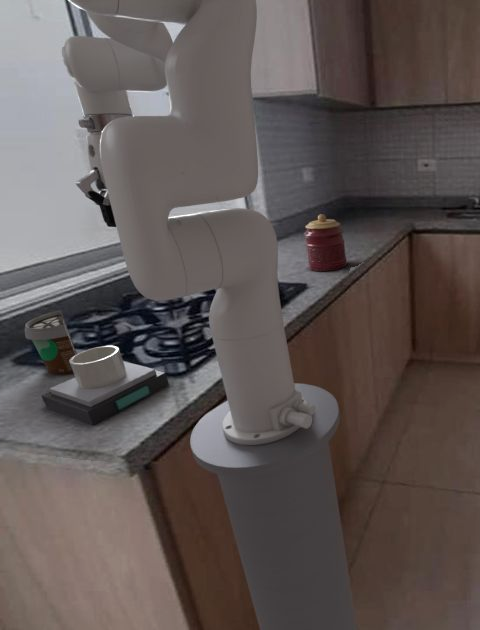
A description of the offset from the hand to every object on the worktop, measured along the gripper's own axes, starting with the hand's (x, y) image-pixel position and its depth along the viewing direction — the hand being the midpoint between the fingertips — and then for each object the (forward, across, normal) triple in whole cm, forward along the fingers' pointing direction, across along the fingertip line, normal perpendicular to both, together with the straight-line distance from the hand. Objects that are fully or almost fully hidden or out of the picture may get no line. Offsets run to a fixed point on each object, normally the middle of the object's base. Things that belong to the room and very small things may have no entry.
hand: (139, 222), depth 86 cm
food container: (+26, -16, +12) cm, 33 cm away
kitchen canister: (+26, +63, +6) cm, 69 cm away
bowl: (+23, -19, -9) cm, 31 cm away
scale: (+26, -19, -9) cm, 34 cm away
